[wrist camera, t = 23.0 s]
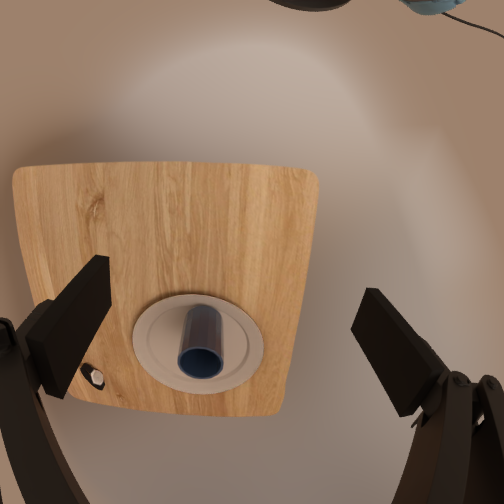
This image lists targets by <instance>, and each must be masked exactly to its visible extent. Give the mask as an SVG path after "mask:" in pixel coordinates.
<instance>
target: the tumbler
mask: <svg viewBox="0 0 504 504" xmlns="http://www.w3.org/2000/svg"><path fill="white" fill-rule="evenodd" d="M177 364H178V366H179V368H180V370H181V371H182V372H183V373H184V374H186V375H187V376H189V377H192V378H195V379H210V378H213V377H215V376H217V375H218V374H219V373H220V372H221V371H222V370H223V365H224V336H223V318H222V316H221V314H220V313H219V312H218V311H217V310H216V309H214V308H212V307H209V306H196V307H194V308H192V309H190V310H189V311H188V312H187V314H186V316H185V319H184V324H183V330H182V335H181V341H180V346H179V352H178V358H177Z"/></svg>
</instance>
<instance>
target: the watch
mask: <svg viewBox="0 0 504 504" xmlns="http://www.w3.org/2000/svg"><path fill="white" fill-rule="evenodd" d="M80 370H81V373H82V374H83V376H84V377H85V379H86V380H88V382H89V383H90V384H91V385H92V386H94V387H95V388H97V389H98V390H103V388H104V386H105V383H104V381H103V375H102V373H101V372H100V371H97V370H95V369H93V368H92V367H91V366H90V365H88V364H86V363H84V364H83V366H82V367H81V368H80ZM86 370H87V371H88V372H89V373H90V374H91V375H92V377H91V376H90V375H89V373H88V372H87V371H86Z"/></svg>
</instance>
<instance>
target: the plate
mask: <svg viewBox="0 0 504 504" xmlns="http://www.w3.org/2000/svg"><path fill="white" fill-rule="evenodd" d="M196 306H209V307H212V308H214V309H216V310H217V311H218V312H219V313H220V314H221V316H222V318H223V336H224V365H223V370H222V371H221V372H220V373H219V374H218V375H217V376H215V377H213V378H210V379H195V378H192V377H189V376H187V375H186V374H184V373H183V372H182V371H181V370H180V368H179V366H178V364H177V358H178V352H179V346H180V341H181V335H182V330H183V324H184V319H185V316H186V314H187V312H188V311H189V310H190V309H192V308H194V307H196ZM132 337H133V348H134V351H135V354H136V357H137V359H138V361H139V362H140V364H141V365H142V367H143V368H144V369H145V370H146V371H147V372H148V373H149V374H150V375H151V376H152V377H153V378H155V379H156V380H157V381H159V382H161V383H162V384H164V385H166V386H168V387H170V388H173V389H176V390H179V391H182V392H187V393H193V394H214V393H220V392H224V391H228V390H230V389H233V388H235V387H237V386H239V385H241V384H242V383H244V382H245V381H247V380H248V379H249V378H250V377H251V376H252V375H253V374H254V373H255V372H256V370H257V369H258V367H259V365H260V364H261V361H262V358H263V353H264V342H263V337H262V335H261V332H260V330H259V328H258V326H257V325H256V323H255V322H254V321H253V319H252V318H251V317H250V316H249V315H248V314H246V313H245V312H244V311H243V310H241V309H240V308H238V307H237V306H235V305H233V304H231V303H229V302H227V301H225V300H222V299H219V298H216V297H211V296H207V295H198V294H186V295H177V296H172V297H169V298H166V299H163V300H160V301H158V302H156V303H154V304H153V305H152V306H150V307H149V308H147V309H146V310H145V311H144V312H143V313H142V314H141V316H140V317H139V318H138V320H137V322H136V324H135V327H134V330H133V336H132Z"/></svg>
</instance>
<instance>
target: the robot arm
mask: <svg viewBox="0 0 504 504" xmlns="http://www.w3.org/2000/svg"><path fill="white" fill-rule="evenodd" d="M399 1H401V2H403V3H404V4H406V5H407V6H408V7H409V8H410V9H411V10H413V11H414V12H416V13H419V14H421V15H435V14H440V13H441V14H443V15H445V16H448V17H450V18H452V19H454V20H457V21H459V22H462V23H465V24H467V25H470V26H473V27H477V28H480V29H484V30H486V31H489V32H492V33H494V34H497V35H499V36H501V37H503V38H504V36H503V35H501V34H499V33H497V32H495V31H493V30H490V29H487V28H485V27H482V26H479V25H475V24H472V23H469V22H466V21H464V20H461V19H459V18H456V17H454V16H451V15H449V14H447V13H445V12H446V11H449V10H451V9H453V8H454V7H456V5H458V4H461V3H463V2H464V1H466V0H399ZM111 306H112V302H111V287H110V265H109V257H108V256H101V255H95V256H94V257H93V258H92V259H91V260H90V261H89V262H88V263H87V264H86V265H85V266H84V267H83V268H82V269H81V270H80V272H79V273H78V274H77V275H76V276H75V277H74V278H73V279H72V280H71V281H70V283H69V284H68V285H67V286H66V287H65V288H64V289H63V291H62V292H61V293H60V294H59V295H58V296H57V297H56V299H55V300H49V299H47V300H45V301H43V302H42V303H40V304H38V305H37V306H36V308H35V309H34V310H33V311H32V313H31V314H30V315H29V316H28V317H27V319H25V320H24V322H23V323H22V324H21V325H20V327H19V328H18V329H17V330H16V331H15V330H14V327H13V324H12V322H11V321H10V320H9V319H7V318H0V429H1V433H2V437H3V441H4V445H5V448H6V451H7V455H8V458H9V461H10V464H11V467H12V470H13V473H14V476H15V478H16V481H17V484H18V486H19V489H20V491H21V494H22V496H23V498H24V501H25V503H26V504H90V503H89V502H88V500H87V498H86V497H85V495H84V493H83V491H82V490H81V488H80V486H79V484H78V482H77V481H76V479H75V477H74V475H73V473H72V471H71V469H70V468H69V465H68V463H67V461H66V459H65V457H64V455H63V454H62V451H61V449H60V447H59V445H58V442H57V440H56V437H55V435H54V433H53V430H52V428H51V426H50V423H49V420H48V417H47V415H46V412H45V410H44V407H43V404H42V401H41V398H40V396H39V393H38V389H39V387H40V385H41V384H42V386H43V388H44V390H45V393H46V394H48V395H51V396H54V397H57V398H60V399H63V398H64V396H65V394H66V392H67V389H68V387H69V385H70V383H71V381H72V379H73V377H74V375H75V373H76V371H77V369H78V367H79V365H80V363H81V361H82V359H83V357H84V355H85V353H86V351H87V349H88V347H89V345H90V343H91V342H92V340H93V338H94V336H95V334H96V332H97V330H98V329H99V327H100V325H101V323H102V321H103V320H104V318H105V316H106V314H107V313H108V311H109V309H110V307H111ZM351 331H352V333H353V335H354V336H355V338H356V340H357V342H358V343H359V345H360V347H361V348H362V350H363V352H364V354H365V355H366V357H367V359H368V361H369V362H370V364H371V366H372V368H373V369H374V371H375V373H376V374H377V376H378V378H379V380H380V382H381V384H382V385H383V387H384V389H385V391H386V393H387V394H388V396H389V398H390V400H391V402H392V404H393V405H394V407H395V409H396V411H397V413H398V415H399V417H405V416H409V415H413V414H414V413H415V411H416V410H417V408H418V407H419V406H421V407H422V409H423V411H422V413H421V414H420V415H419V416H418V418H417V419H416V420H415V421H414V423H413V424H412V425H411V428H413V427H414V426H415V425H416V424H417V427H416V431H415V435H414V439H413V442H412V446H411V449H410V453H409V456H408V459H407V463H406V465H405V469H404V471H403V475H402V477H401V480H400V483H399V486H398V488H397V491H396V493H395V496H394V499H393V501H392V503H391V504H504V391H503V389H502V386H501V384H500V383H499V381H498V380H497V379H496V378H494V377H493V376H490V375H484V376H483V377H482V378H481V380H480V381H479V383H471V381H470V380H469V378H468V377H467V376H466V375H465V374H463V373H461V372H458V371H452V372H451V371H450V370H449V369H448V368H447V366H446V365H445V364H444V363H443V361H442V360H441V359H440V358H439V356H438V355H436V353H435V351H434V350H433V349H431V346H430V345H429V344H428V343H427V342H426V341H425V340H424V339H423V338H421V337H420V336H419V335H418V334H417V333H416V332H415V331H414V330H413V328H412V327H411V326H410V325H409V324H408V322H407V321H406V320H405V319H404V318H403V317H402V315H401V314H400V313H399V312H398V311H397V310H396V308H395V307H394V306H393V305H392V304H391V303H390V302H389V301H388V299H387V298H386V297H385V296H384V295H383V294H382V293H381V292H380V290H379V289H376V288H366V290H365V293H364V296H363V299H362V301H361V304H360V307H359V309H358V312H357V315H356V317H355V320H354V322H353V325H352V327H351ZM483 414H484V420H483V421H482V423H481V424H480V425H478V420H479V419H480V417H481V416H482V415H483ZM0 504H3V502H2V496H1V489H0Z"/></svg>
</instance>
